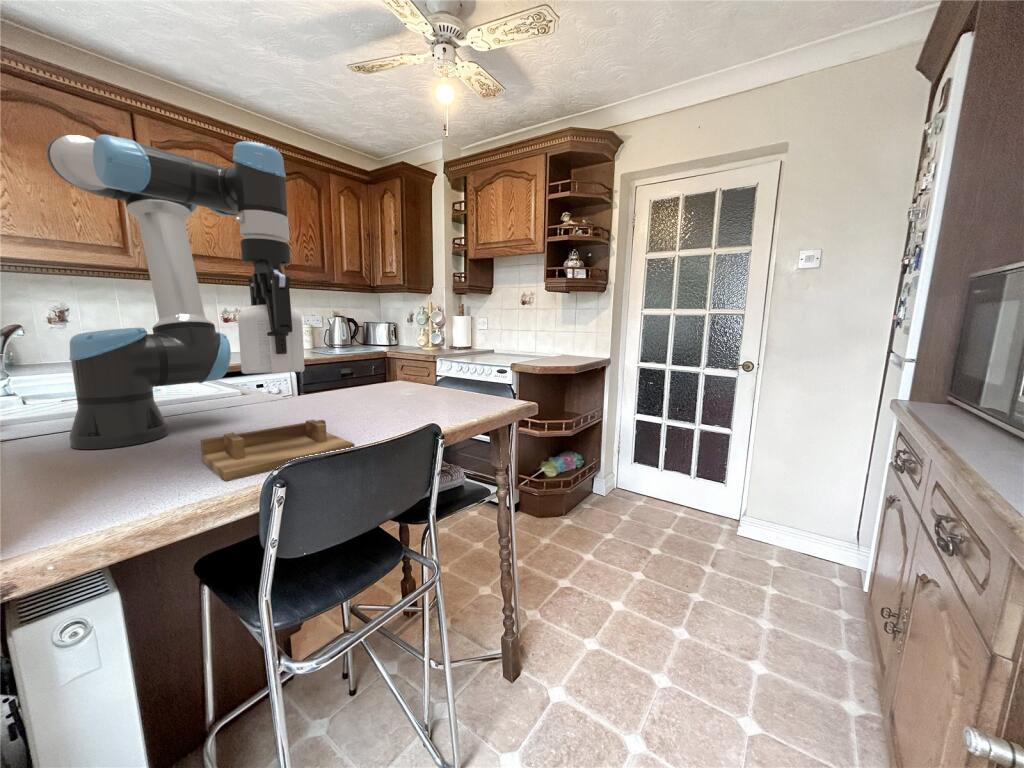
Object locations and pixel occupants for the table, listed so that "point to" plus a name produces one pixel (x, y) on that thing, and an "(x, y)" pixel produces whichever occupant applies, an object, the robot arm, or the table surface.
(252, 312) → the photo printer
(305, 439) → the ledge shelf
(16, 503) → the table surface
